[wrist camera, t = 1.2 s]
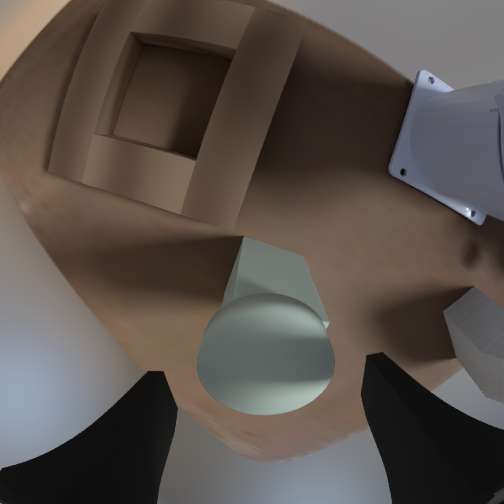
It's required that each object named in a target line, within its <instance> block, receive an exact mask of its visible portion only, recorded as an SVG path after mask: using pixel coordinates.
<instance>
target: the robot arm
mask: <svg viewBox="0 0 504 504" xmlns="http://www.w3.org/2000/svg"><path fill="white" fill-rule="evenodd" d="M428 78H430V79H431V81H432V83H430V82H429V81H428ZM402 168H403V169H404V174H403V175H401V174H400V170H401V169H402ZM388 170H389V173H390V174H391V175H392V176H394V177H396V178H398V179H400V180H402V181H404V182H406V183H408V184H409V185H411V186H413V187H415V188H417V189H419V190H421V191H422V192H424V193H426V194H428V195H430V196H431V197H433V198H435V199H437V200H438V201H440V202H442V203H444V204H445V205H447V206H449V207H450V208H452V209H454V210H455V211H457V212H458V213H460V214H462V215H463V216H465V217H466V218H468V219H470V220H471V221H473V222H474V223H476V224H478V225H482V224H483V222H484V220H485V217H486V215H490V216H492V217H495V218H497V219H500V220H502V221H504V81H498V82H492V83H487V84H482V85H477V86H472V87H467V88H463V89H457V90H454V89H452V88H451V87H450V86H448V85H447V84H445V83H444V82H443V81H441V80H440V79H438V78H437V77H435V76H433V75H432V74H431V73H429V72H427V71H426V70H421V71H419V72H418V73H417V76H416V80H415V84H414V87H413V91H412V94H411V98H410V101H409V105H408V108H407V112H406V115H405V118H404V121H403V125H402V128H401V131H400V134H399V137H398V140H397V143H396V146H395V149H394V152H393V155H392V158H391V160H390V163H389V167H388ZM472 211H473V213H472V215H471V212H472ZM361 398H362V402H363V407H364V411H365V415H366V418H367V421H368V424H369V426H370V429H371V432H372V434H373V437H374V439H375V442H376V445H377V448H378V450H379V453H380V455H381V458H382V461H383V464H384V467H385V470H386V474H387V478H388V483H389V488H390V492H391V499H392V504H504V430H503V429H499V428H496V427H493V426H491V425H488V424H486V423H484V422H481V421H479V420H477V419H475V418H472V417H471V416H468V415H466V414H465V413H463V412H461V411H459V410H458V409H456V408H454V407H452V406H451V405H449V404H447V403H446V402H444V401H443V400H441V399H440V398H438V397H437V396H436V395H434V394H433V393H431V392H430V391H429V390H427V389H426V388H425V387H423V386H422V385H421V384H420V383H418V382H417V381H416V380H415V379H413V378H412V377H411V376H410V375H408V374H407V373H406V372H405V371H404V370H403V369H401V368H400V367H399V366H398V365H397V364H396V363H395V362H393V361H392V360H391V359H390V358H389V357H388V356H386V355H385V354H384V353H383V352H380V353H375V354H370V355H367V356H366V363H365V370H364V377H363V384H362V390H361ZM177 410H178V408H177V405H176V403H175V400H174V398H173V395H172V393H171V390H170V387H169V385H168V382H167V380H166V377H165V374H164V371H148V372H147V373H146V374H145V375H144V376H143V377H142V378H141V379H140V380H139V381H138V382H137V383H136V384H135V385H134V386H133V387H132V388H131V389H130V390H129V391H128V392H127V393H126V394H125V395H124V396H123V397H122V398H121V399H120V400H118V402H116V404H114V406H112V407H111V408H110V409H109V410H108V411H107V412H105V413H104V414H103V415H102V416H101V417H100V418H99V419H97V420H96V421H95V422H94V423H93V424H92V425H90V426H89V427H88V428H86V429H85V430H84V431H82V432H81V433H79V434H78V435H76V436H75V437H74V438H72V439H70V440H69V441H67V442H66V443H64V444H62V445H60V446H58V447H57V448H55V449H53V450H51V451H49V452H47V453H45V454H43V455H41V456H39V457H36V458H34V459H31V460H28V461H26V462H23V463H19V464H16V465H12V466H9V467H5V468H2V469H1V471H0V503H2V504H157V500H158V493H159V486H160V482H161V477H162V474H163V470H164V467H165V463H166V460H167V456H168V453H169V449H170V445H171V442H172V439H173V435H174V432H175V426H176V419H177Z"/></svg>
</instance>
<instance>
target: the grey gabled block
mask: <svg viewBox="0 0 504 504" xmlns="http://www.w3.org/2000/svg"><path fill="white" fill-rule="evenodd" d="M443 314H444V317H445V320H446V323H447V326H448V330H449V333H450V336H451V340H452V343H453V347H454V351H455V355H456V358H457V359H458V361H459V362H460V363H461V365H462V366H463V367H464V368H465V370H466V371H467V372H468V374H469V375H470V376H471V378H472V379H473V380H474V382H475V383H476V384H477V386H478V387H479V389H480V390H481V391H482V393H483V394H484V395H485V397H488V398H491V399H493V400H496V401H498V402H501V403H504V310H503V309H502V308H501V307H500V306H499V305H497V304H496V303H495V302H494V301H492V300H491V299H490V298H489V297H487V296H486V295H485V294H484V293H482V292H481V291H480V290H479V289H477V288H476V287H475V286H474V287H473V288H472V289H470V290H469V291H468V292H467V293H466V294H464V295H463V296H462V297H461V298H459V299H458V300H457V301H456V302H454V303H453V304H452V305H451V306H449V307H448V308H447V309H445V310H444V311H443Z"/></svg>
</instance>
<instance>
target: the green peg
mask: <svg viewBox="0 0 504 504" xmlns="http://www.w3.org/2000/svg"><path fill="white" fill-rule="evenodd" d="M329 323H330V322H329V320H328V317H327V315H326V312H325V309H324V307H323V304H322V302H321V299H320V297H319V294H318V291H317V289H316V286H315V284H314V281H313V279H312V276H311V274H310V271H309V269H308V267H307V264H306V262H305V259H304V257H303V256H301V255H298V254H295V253H292V252H289V251H287V250H284V249H281V248H278V247H275V246H272V245H269V244H266V243H263V242H260V241H257V240H254V239H251V238H248V237H245V236H244V237H243V240H242V243H241V246H240V249H239V252H238V255H237V257H236V260H235V263H234V266H233V269H232V272H231V275H230V278H229V281H228V284H227V287H226V290H225V293H224V297H223V302H222V306H221V309H220V310H219V311H217V312H216V313H215V315H214V316H213V317H212V318H211V320H210V321H209V323H208V325H207V327H206V329H205V332H204V336H203V339H202V343H201V346H200V350H199V354H198V358H197V371H198V375H199V378H200V381H201V383H202V385H203V386H204V388H205V389H206V390H207V392H208V393H209V394H210V395H211V396H212V397H213V398H215V399H216V400H217V401H219V402H220V403H222V404H223V405H225V406H227V407H229V408H231V409H234V410H236V411H240V412H243V413H248V414H255V415H274V414H281V413H286V412H289V411H293V410H295V409H298V408H300V407H302V406H304V405H306V404H308V403H309V402H311V401H313V400H314V399H315V398H316V397H318V396H319V395H320V394H321V393H322V392H323V391H324V389H325V388H326V387H327V386H328V384H329V382H330V380H331V378H332V376H333V373H334V368H335V357H334V352H333V349H332V346H331V343H330V340H329V337H328V334H327V331H326V329H327V327H328V325H329Z"/></svg>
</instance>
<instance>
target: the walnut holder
mask: <svg viewBox="0 0 504 504" xmlns="http://www.w3.org/2000/svg"><path fill="white" fill-rule="evenodd" d="M307 25H308V23H307V22H304V21H301V20H298V19H295V18H292V17H289V16H286V15H283V14H279V13H276V12H272V11H269V10H265V9H261V8H257V7H253V6H249V5H244V4H240V3H235V2H230V1H225V0H105V2H104V4H103V6H102V8H101V10H100V12H99V14H98V16H97V18H96V20H95V22H94V24H93V26H92V28H91V31H90V33H89V35H88V37H87V40H86V42H85V44H84V47H83V49H82V52H81V54H80V57H79V59H78V62H77V65H76V67H75V70H74V73H73V76H72V79H71V82H70V85H69V88H68V91H67V94H66V97H65V100H64V104H63V107H62V111H61V114H60V118H59V122H58V126H57V130H56V134H55V138H54V143H53V148H52V152H51V157H50V163H49V168H48V173H51V174H54V175H57V176H60V177H64V178H67V179H70V180H73V181H76V182H80V183H83V184H86V185H89V186H92V187H96V188H99V189H102V190H105V191H108V192H112V193H115V194H118V195H121V196H124V197H127V198H130V199H134V200H137V201H140V202H143V203H146V204H149V205H152V206H155V207H159V208H162V209H165V210H168V211H171V212H174V213H177V214H180V215H183V216H186V217H189V218H192V219H195V220H198V221H202V222H205V223H208V224H211V225H214V226H217V227H220V228H223V229H226V230H229V231H232V232H233V230H234V227H235V224H236V221H237V218H238V215H239V212H240V209H241V206H242V203H243V200H244V197H245V194H246V191H247V188H248V186H249V183H250V180H251V177H252V174H253V171H254V168H255V166H256V163H257V160H258V157H259V154H260V151H261V149H262V146H263V143H264V140H265V137H266V135H267V132H268V129H269V126H270V123H271V121H272V118H273V115H274V112H275V110H276V107H277V104H278V102H279V99H280V96H281V93H282V91H283V88H284V85H285V83H286V80H287V77H288V75H289V72H290V69H291V67H292V64H293V62H294V59H295V56H296V54H297V51H298V48H299V46H300V43H301V41H302V38H303V36H304V33H305V30H306V28H307ZM144 44H150V45H157V46H164V47H170V48H176V49H182V50H187V51H192V52H197V53H202V54H207V55H211V56H216V57H220V58H224V59H228V60H232V62H231V65H230V67H229V70H228V72H227V75H226V77H225V80H224V83H223V85H222V88H221V90H220V93H219V96H218V99H217V101H216V104H215V107H214V110H213V112H212V115H211V118H210V121H209V124H208V127H207V129H206V132H205V135H204V138H203V141H202V144H201V147H200V150H199V154H198V157H197V158H196V157H193V156H189V155H186V154H183V153H179V152H176V151H172V150H168V149H165V148H161V147H158V146H154V145H150V144H146V143H142V142H139V141H135V140H131V139H127V138H123V137H119V136H114V135H113V132H114V128H115V125H116V121H117V118H118V115H119V112H120V109H121V105H122V102H123V99H124V96H125V93H126V91H127V88H128V85H129V82H130V79H131V77H132V74H133V71H134V69H135V66H136V64H137V61H138V59H139V56H140V54H141V51H142V49H143V47H144Z"/></svg>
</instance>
